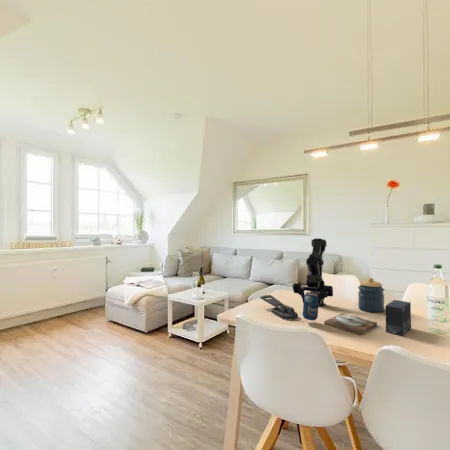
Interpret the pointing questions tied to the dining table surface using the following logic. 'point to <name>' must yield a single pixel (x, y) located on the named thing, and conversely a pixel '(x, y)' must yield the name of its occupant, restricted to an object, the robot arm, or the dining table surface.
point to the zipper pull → (280, 308)
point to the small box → (398, 317)
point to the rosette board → (351, 323)
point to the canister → (371, 296)
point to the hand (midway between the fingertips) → (311, 305)
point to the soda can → (310, 306)
